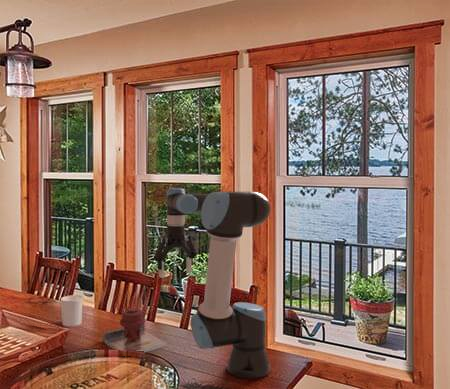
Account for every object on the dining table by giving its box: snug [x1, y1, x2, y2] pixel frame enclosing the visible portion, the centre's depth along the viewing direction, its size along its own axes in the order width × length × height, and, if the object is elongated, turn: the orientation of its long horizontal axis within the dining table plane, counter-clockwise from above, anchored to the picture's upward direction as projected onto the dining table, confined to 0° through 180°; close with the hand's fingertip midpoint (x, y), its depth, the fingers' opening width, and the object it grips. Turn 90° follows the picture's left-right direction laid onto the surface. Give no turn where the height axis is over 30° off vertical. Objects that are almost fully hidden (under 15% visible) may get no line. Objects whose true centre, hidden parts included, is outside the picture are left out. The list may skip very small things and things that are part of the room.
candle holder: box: [60, 294, 84, 327], centre depth 204 cm, size 10×10×12 cm
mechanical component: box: [119, 307, 146, 342], centre depth 181 cm, size 12×10×10 cm
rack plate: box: [102, 323, 167, 353], centre depth 180 cm, size 20×18×4 cm
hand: (175, 275), depth 187 cm, fingers open, 13 cm apart
